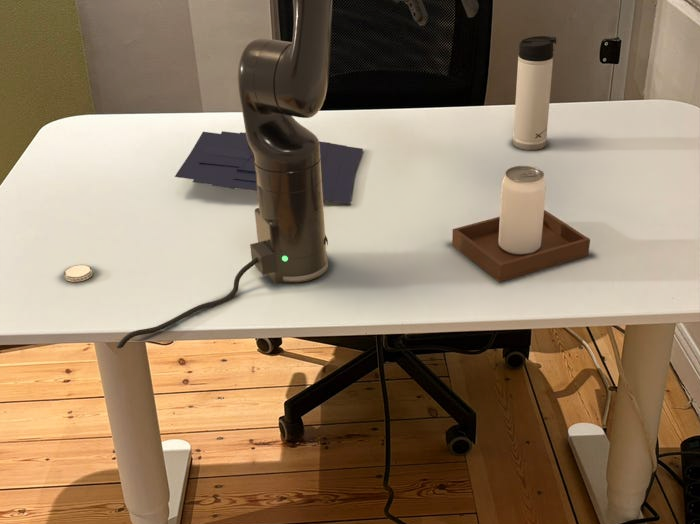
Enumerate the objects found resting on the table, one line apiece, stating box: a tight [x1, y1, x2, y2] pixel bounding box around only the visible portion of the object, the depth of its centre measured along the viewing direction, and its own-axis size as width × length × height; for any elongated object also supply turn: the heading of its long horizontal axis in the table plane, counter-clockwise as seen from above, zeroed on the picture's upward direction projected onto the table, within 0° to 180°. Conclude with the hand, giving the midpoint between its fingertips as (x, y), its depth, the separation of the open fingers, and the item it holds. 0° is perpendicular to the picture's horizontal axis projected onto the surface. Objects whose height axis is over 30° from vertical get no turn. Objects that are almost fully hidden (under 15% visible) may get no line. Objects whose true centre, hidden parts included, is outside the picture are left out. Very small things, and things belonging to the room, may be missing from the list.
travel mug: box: [512, 35, 557, 151], centre depth 172 cm, size 6×7×20 cm
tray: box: [451, 209, 591, 283], centre depth 142 cm, size 16×13×3 cm
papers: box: [174, 130, 364, 204], centre depth 166 cm, size 24×30×4 cm
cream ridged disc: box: [63, 264, 93, 283], centre depth 138 cm, size 4×4×1 cm
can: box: [499, 165, 547, 255], centre depth 139 cm, size 6×6×12 cm
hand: (449, 18), depth 138 cm, fingers open, 8 cm apart
